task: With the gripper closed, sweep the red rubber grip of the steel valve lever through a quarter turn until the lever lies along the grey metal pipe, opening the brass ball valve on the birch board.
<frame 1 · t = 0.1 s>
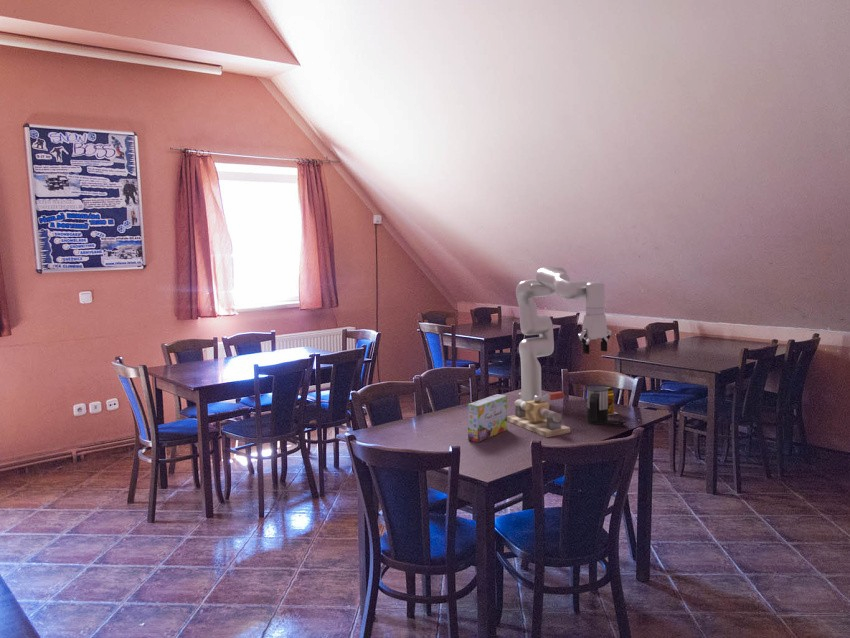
hand: (595, 352, 267), 31 cm above the table, tool pointing down, fingers open, 9 cm apart
snack box: (488, 435, 261), on the table
milk frother: (605, 424, 272), on the table
condiment: (605, 413, 289), on the table
valve lever: (548, 396, 272), point 12 cm above the table, hinge at 90.0°
valve stand: (537, 426, 270), on the table
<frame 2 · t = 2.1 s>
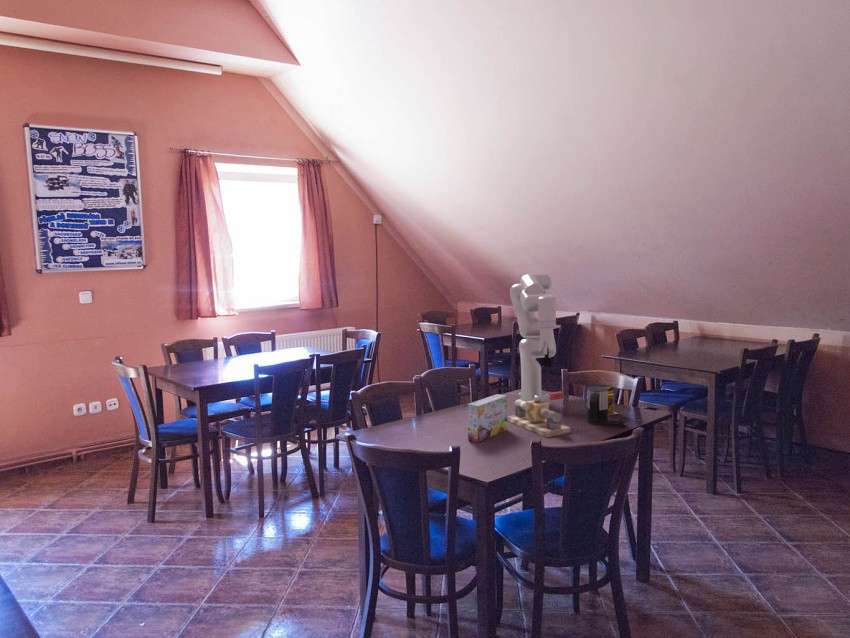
hand: (547, 366, 277), 24 cm above the table, tool pointing down, fingers closed
nothing on the table moved.
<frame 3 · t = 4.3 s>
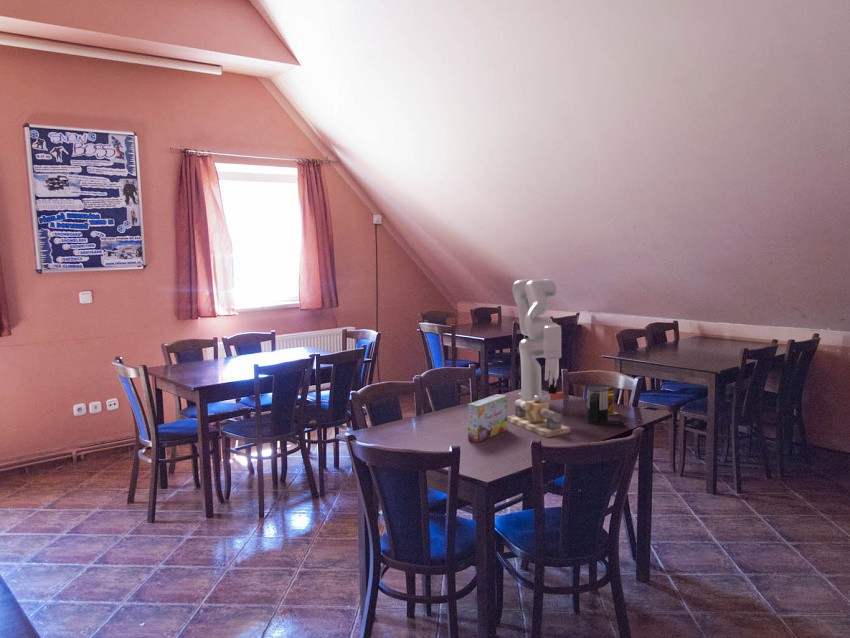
hand: (552, 395, 276), 11 cm above the table, tool pointing down, fingers closed
valve lever: (548, 397, 271), point 12 cm above the table, hinge at 86.7°, touching gripper
everything else where it was.
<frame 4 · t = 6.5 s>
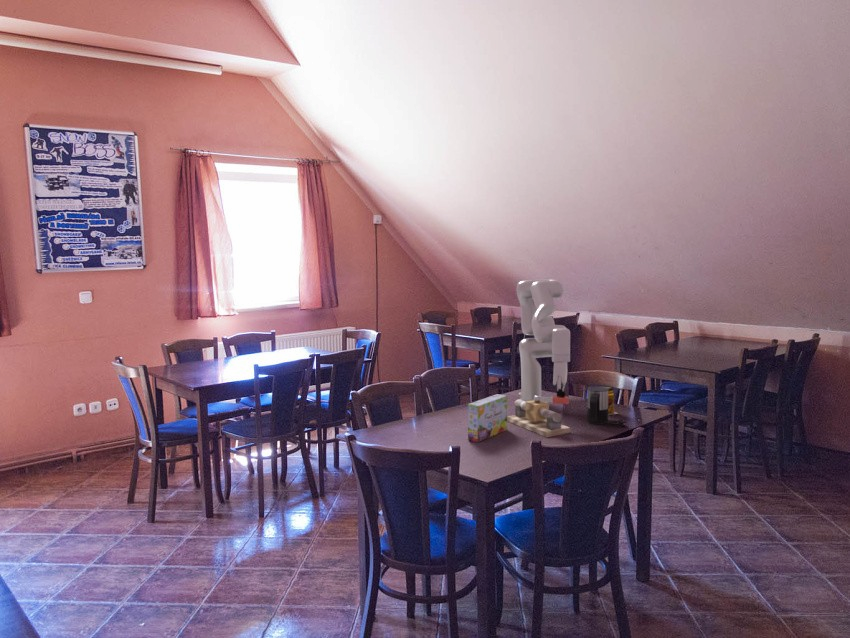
hand: (560, 400, 269), 11 cm above the table, tool pointing down, fingers closed
valve lever: (551, 399, 267), point 12 cm above the table, hinge at 44.0°, touching gripper
everything else where it was.
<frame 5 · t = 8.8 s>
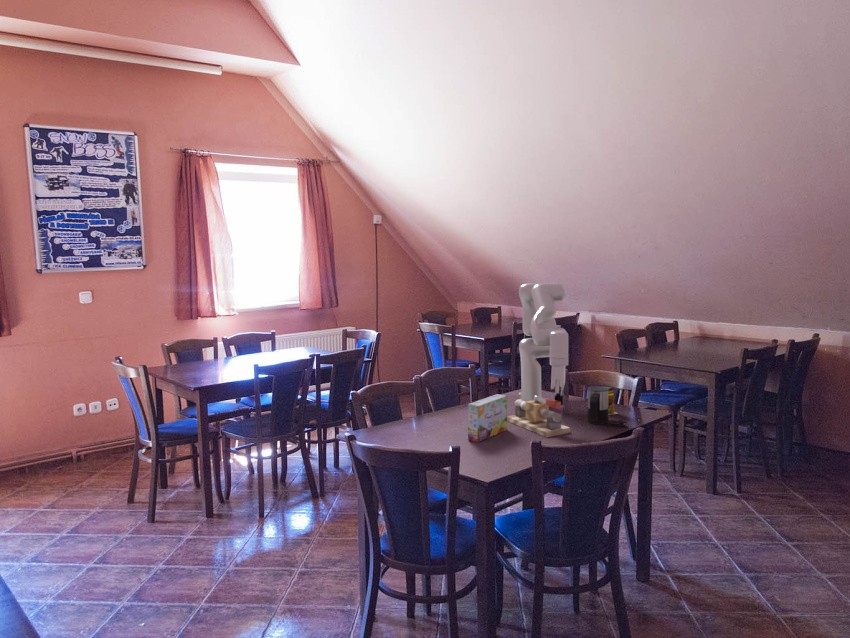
hand: (558, 404, 263), 11 cm above the table, tool pointing down, fingers closed
valve lever: (546, 401, 264), point 12 cm above the table, hinge at 4.5°, touching gripper
everything else where it was.
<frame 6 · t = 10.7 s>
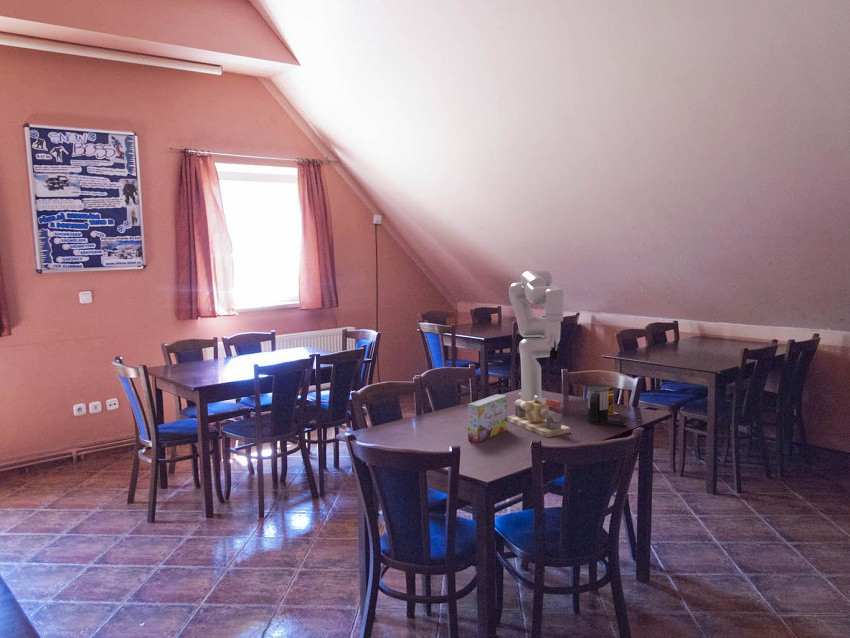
hand: (553, 359, 277), 27 cm above the table, tool pointing down, fingers closed
valve lever: (546, 401, 264), point 12 cm above the table, hinge at 4.4°
everything else where it was.
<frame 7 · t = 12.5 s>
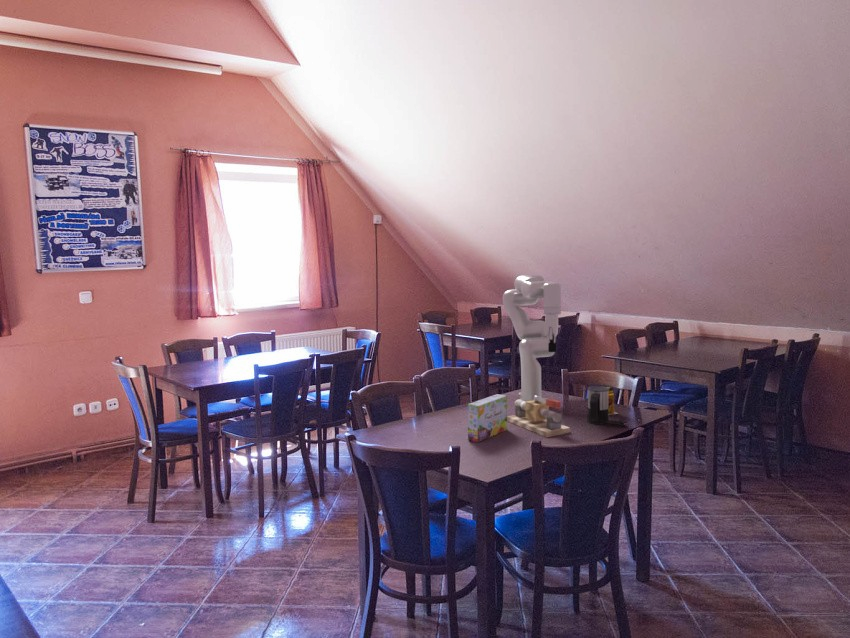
hand: (552, 351, 283), 29 cm above the table, tool pointing down, fingers closed
nothing on the table moved.
at the end: valve lever at +4° (first picture: +90°); milk frother moved 0.4 cm from its start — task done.
